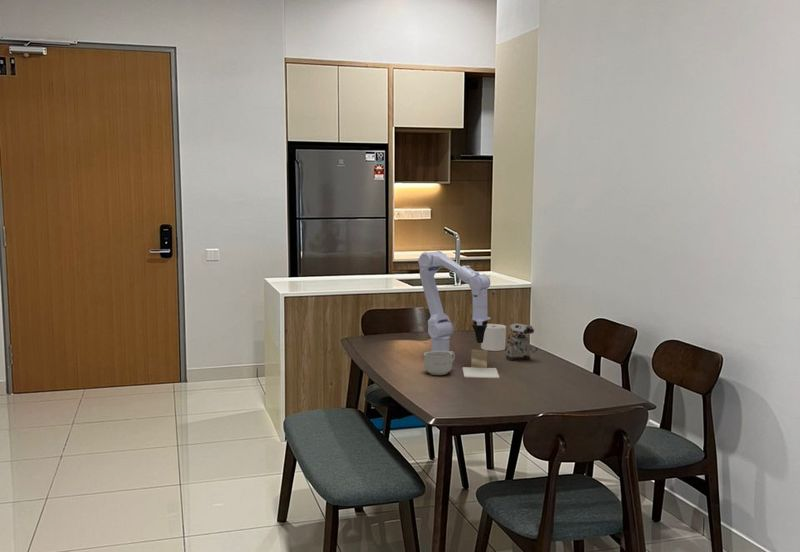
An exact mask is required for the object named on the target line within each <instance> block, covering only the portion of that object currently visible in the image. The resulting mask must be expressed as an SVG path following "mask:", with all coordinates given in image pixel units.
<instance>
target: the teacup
mask: <svg viewBox="0 0 800 552" xmlns="http://www.w3.org/2000/svg"><path fill="white" fill-rule="evenodd" d="M423 359H424V361H423V362H424V368H425V371H426V372H427V373H429V375H433V376H443V375H447V374H448V373H449V372H450V371H451V370H452V369H453V368H452V367H453V362H454V361H455V359H456V354H455V351H452V350H449V352H448V351H431V350H430V351H426V352H424V353H423Z"/></svg>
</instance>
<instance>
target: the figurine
mask: <svg viewBox="0 0 800 552" xmlns="http://www.w3.org/2000/svg"><path fill="white" fill-rule="evenodd" d="M508 328H509V330H512V332H513V333H512V334H511V333H509V334H508V335H507V341H506V342H507V344H509V346H508V347H507V349H506V355H505V357H506V358H505V359H506V360H509V361H514V356H517V357H523V359H525V360H527V359H529V360H531V356H530V355H531V352H530V351H532V353H533V354H536V353H537V352H538V347H536V348H535V349H534V348H533V347H532V345H531V344H530V340H531V339H530V338H528V336H526V335H531V334H535V329H534V327H533V326H532V325H528V324H521V323H517V322H516V323H511V325H509V327H508ZM513 334H515V335H513Z"/></svg>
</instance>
